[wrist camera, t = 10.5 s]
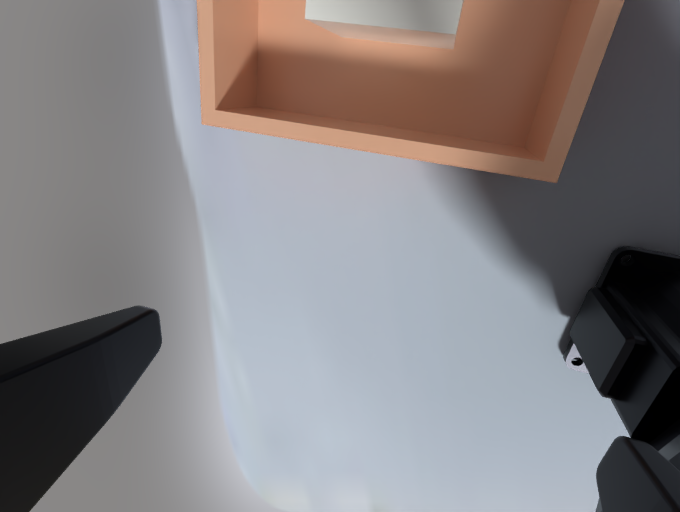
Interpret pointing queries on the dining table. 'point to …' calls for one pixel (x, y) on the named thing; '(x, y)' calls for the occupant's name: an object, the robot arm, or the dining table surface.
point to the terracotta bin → (410, 82)
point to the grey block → (390, 20)
